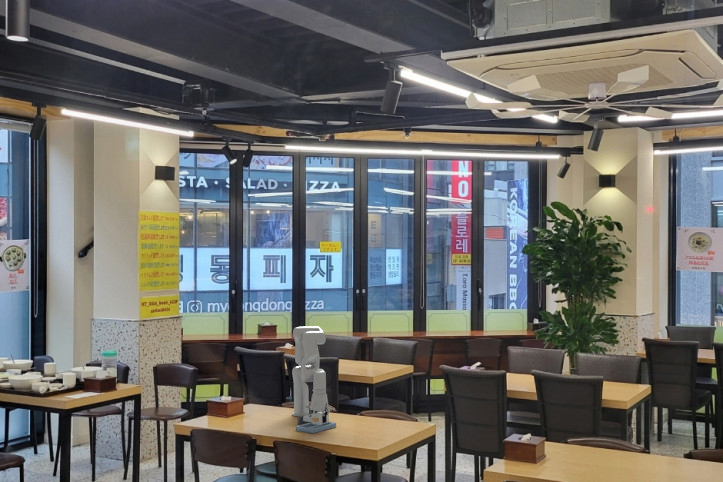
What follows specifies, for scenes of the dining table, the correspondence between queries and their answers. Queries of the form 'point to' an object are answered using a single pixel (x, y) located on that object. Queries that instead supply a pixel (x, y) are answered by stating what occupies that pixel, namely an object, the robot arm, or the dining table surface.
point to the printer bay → (300, 419)
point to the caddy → (316, 418)
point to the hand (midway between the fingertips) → (320, 421)
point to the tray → (315, 427)
